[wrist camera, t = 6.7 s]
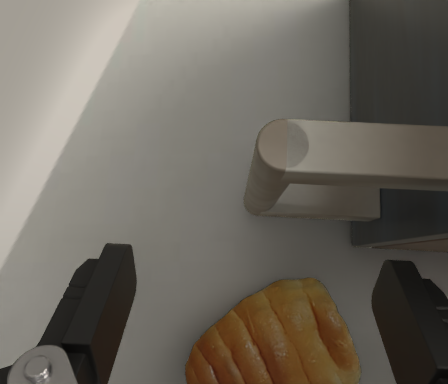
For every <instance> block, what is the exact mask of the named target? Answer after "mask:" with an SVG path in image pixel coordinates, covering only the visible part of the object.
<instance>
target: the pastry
mask: <svg viewBox="0 0 448 384" xmlns="http://www.w3.org/2000/svg"><path fill="white" fill-rule="evenodd" d="M185 375H186V382H187V384H358V382H359V380H360V375H361V367H360V365H359V358H358V356H357V353H356V351H355V347H354V344H353V341H352V339H351V336H350V333H349V330H348V327H347V325H346V323H345V321H344V320H343V318H342V317H341V316H340V315H339V313H338V311H337V306H336V305H335V303H334V302H333V300H332V299H331V297H330V295H329V293H328V291H327V289H326V287H325V286H324V285H323V284H322V283H321V282H320V281H318V280H317V279H315V278H304V279H297V280H279V281H276V282H274V283H272V284H271V285H269V286H268V287H266V288H265V289H263V290H261V291H259V292H257V293H256V294H254V295H251V296H249V297H247V298H245V299H243V300H242V301H241V302H240V303H239V304H238V305H237V306H236V307H234V308H233V309H231V310H230V311H229V312H228V313H227V315H226V316H224V317H223V318H222V319H220V320H219V321H218V322H217V323H216V324H214V325H213V326H211V327H210V328H209V329H208V330H207V331H206V332H205V333H204V334H203V335H202V336H201V337H200V339H199V340H198V341H197V342H196V343H195V344H194V346H193V348H192V351H191V354H190V356H189V359H188V361H187V363H186V365H185Z"/></svg>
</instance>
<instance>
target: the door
mask: <svg viewBox="0 0 448 384" xmlns="http://www.w3.org/2000/svg"><path fill="white" fill-rule="evenodd" d="M350 105H351V122H341V121H319V120H297V119H278V120H274V121H271V122H269V123H268V124H266V125H265V126H264V127H263V128H262V129H261V130H260V132H259V134H258V136H257V139H256V144H255V148H254V153H253V158H252V162H251V167H250V172H249V176H248V181H247V186H246V190H245V195H244V206H245V208H246V210H247V211H248V212H249V213H251V214H253V215H256V216H271V217H290V218H309V219H329V220H348V221H351V222H352V247H363V248H369V247H377V246H385V245H394V244H402V243H410V242H418V241H427V240H435V239H443V238H448V0H350Z"/></svg>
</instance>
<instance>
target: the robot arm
mask: <svg viewBox="0 0 448 384" xmlns="http://www.w3.org/2000/svg"><path fill="white" fill-rule="evenodd" d="M136 284H137V278H136V271H135V264H134V257H133V250H132V246H131V245H130V244H113V243H107V244H106V245H105V247H104V249H103V251H102V253H101V255H100V257H99V259H88V260H87V261H85V262H84V263H83V264H82V265H81V266H80V267H79V268H78V269H77V270H76V271H75V273H74V275H73V277H72V279H71V281H70V283H69V287H67V289H66V291H65V293H64V295H63V299H61V301H60V303H59V304H58V306H57V308H56V310H55V312H54V314H53V316H52V318H51V320H50V322H49V324H48V326H47V328H46V330H45V332H44V334H43V336H42V338H41V340H40V342H39V343H38V345H37V346H36V347H35V348H33V349H31V350H29V351H27V352H26V353H24V354H23V355H22V356H20V357H19V358H18V359H17V360H16V361H15V363H14V364H13V365H11V366H8V367H5V368H2V369H0V384H108V381H109V377H110V374H111V371H112V368H113V365H114V361H115V358H116V355H117V352H118V348H119V345H120V342H121V339H122V336H123V332H124V329H125V326H126V323H127V320H128V316H129V313H130V310H131V307H132V303H133V300H134V297H135V293H136ZM371 302H372V310H373V314H374V317H375V320H376V323H377V326H378V329H379V332H380V335H381V338H382V341H383V344H384V347H385V350H386V353H387V356H388V359H389V362H390V365H391V368H392V371H393V374H394V377H395V380H396V383H397V384H448V300H447V298H446V296H445V294H444V292H442V291H441V290H440V289H439V288H438V287H437V286H436V285H435V284H434V283H433V282H432V281H431V280H430V279H422V278H421V276H420V274H419V272H418V270H417V268H416V266H415V264H414V263H413V262H411V261H399V260H385V261H384V263H383V265H382V268H381V270H380V273H379V276H378V279H377V281H376V284H375V287H374V289H373V292H372V300H371Z"/></svg>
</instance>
